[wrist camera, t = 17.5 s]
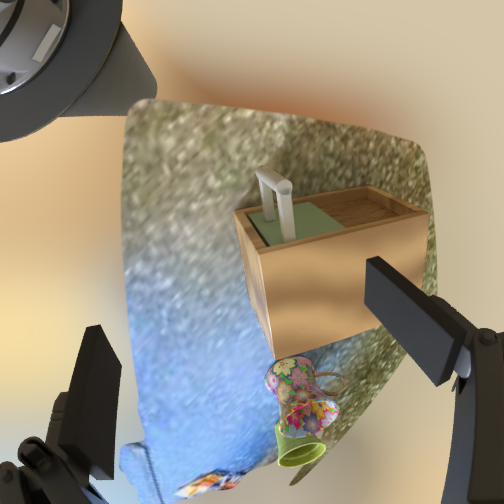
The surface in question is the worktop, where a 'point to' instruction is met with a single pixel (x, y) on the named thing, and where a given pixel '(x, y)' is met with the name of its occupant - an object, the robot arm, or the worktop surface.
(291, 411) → the mug
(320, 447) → the plant pot
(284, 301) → the cupboard
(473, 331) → the robot arm
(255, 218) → the sliding door
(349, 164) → the worktop surface
